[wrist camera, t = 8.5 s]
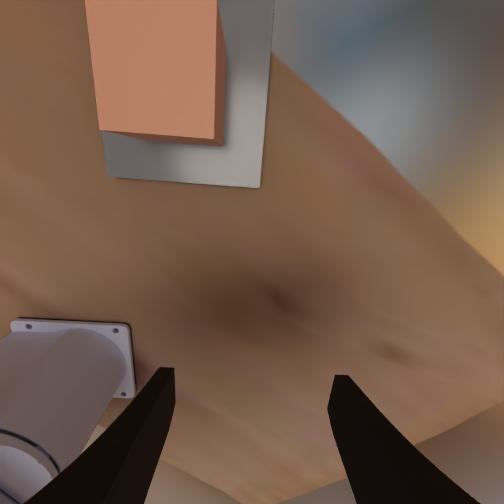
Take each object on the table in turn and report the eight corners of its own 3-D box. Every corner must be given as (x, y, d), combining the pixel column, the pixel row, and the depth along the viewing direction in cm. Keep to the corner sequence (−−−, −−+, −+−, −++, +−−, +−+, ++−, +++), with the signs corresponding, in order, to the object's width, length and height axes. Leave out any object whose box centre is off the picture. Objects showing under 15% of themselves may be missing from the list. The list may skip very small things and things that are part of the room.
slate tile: (116, 175, 18) (107, 176, 16) (98, -8, 14) (85, -23, 13) (258, 186, 18) (259, 187, 17) (272, 11, 15) (275, -2, 14)
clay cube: (143, 140, 16) (99, 129, 11) (137, 43, 14) (82, -18, 9) (223, 146, 16) (213, 138, 11) (226, 51, 14) (216, -4, 10)
